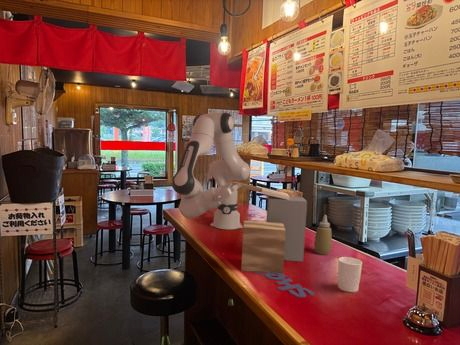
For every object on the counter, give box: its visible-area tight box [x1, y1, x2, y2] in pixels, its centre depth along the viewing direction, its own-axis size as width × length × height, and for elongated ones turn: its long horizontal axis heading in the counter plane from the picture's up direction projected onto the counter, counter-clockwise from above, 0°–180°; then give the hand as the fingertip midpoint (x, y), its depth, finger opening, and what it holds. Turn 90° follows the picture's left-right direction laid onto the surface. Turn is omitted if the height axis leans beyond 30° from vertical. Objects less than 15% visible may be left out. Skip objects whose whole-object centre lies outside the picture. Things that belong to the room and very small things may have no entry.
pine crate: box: [240, 220, 286, 274], centre depth 135 cm, size 12×16×17 cm
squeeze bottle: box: [313, 214, 333, 256], centre depth 157 cm, size 8×8×18 cm
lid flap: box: [232, 180, 291, 200], centre depth 149 cm, size 10×25×2 cm, turn 86°
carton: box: [265, 195, 308, 262], centre depth 150 cm, size 12×16×26 cm
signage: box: [252, 271, 316, 299], centre depth 122 cm, size 28×1×10 cm
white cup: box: [337, 256, 363, 293], centre depth 118 cm, size 8×8×10 cm
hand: (241, 183), depth 150 cm, fingers closed on lid flap, 4 cm apart
